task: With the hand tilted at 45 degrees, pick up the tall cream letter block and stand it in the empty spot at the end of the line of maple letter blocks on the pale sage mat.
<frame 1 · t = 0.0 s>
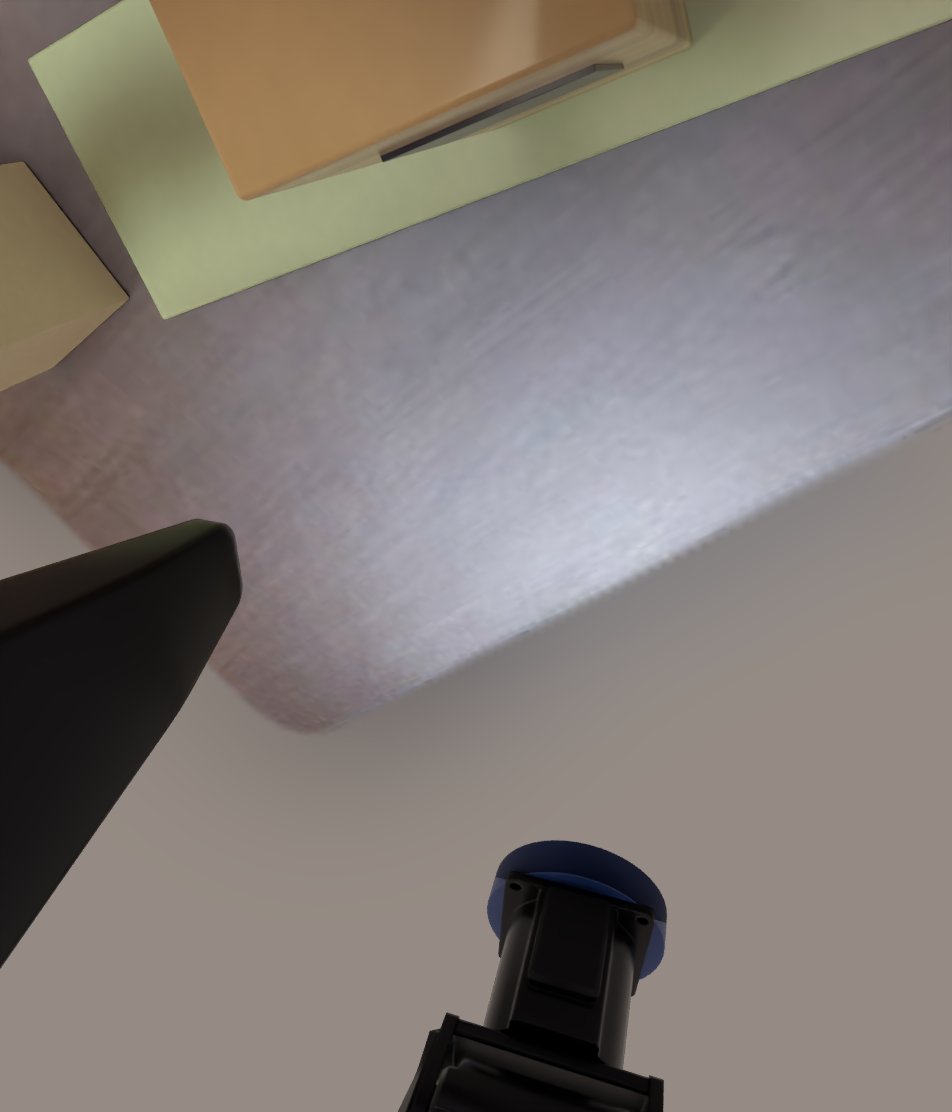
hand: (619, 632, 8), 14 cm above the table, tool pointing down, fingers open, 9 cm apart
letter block: (39, 272, 25), on the table
block line: (217, 145, 21), on the table
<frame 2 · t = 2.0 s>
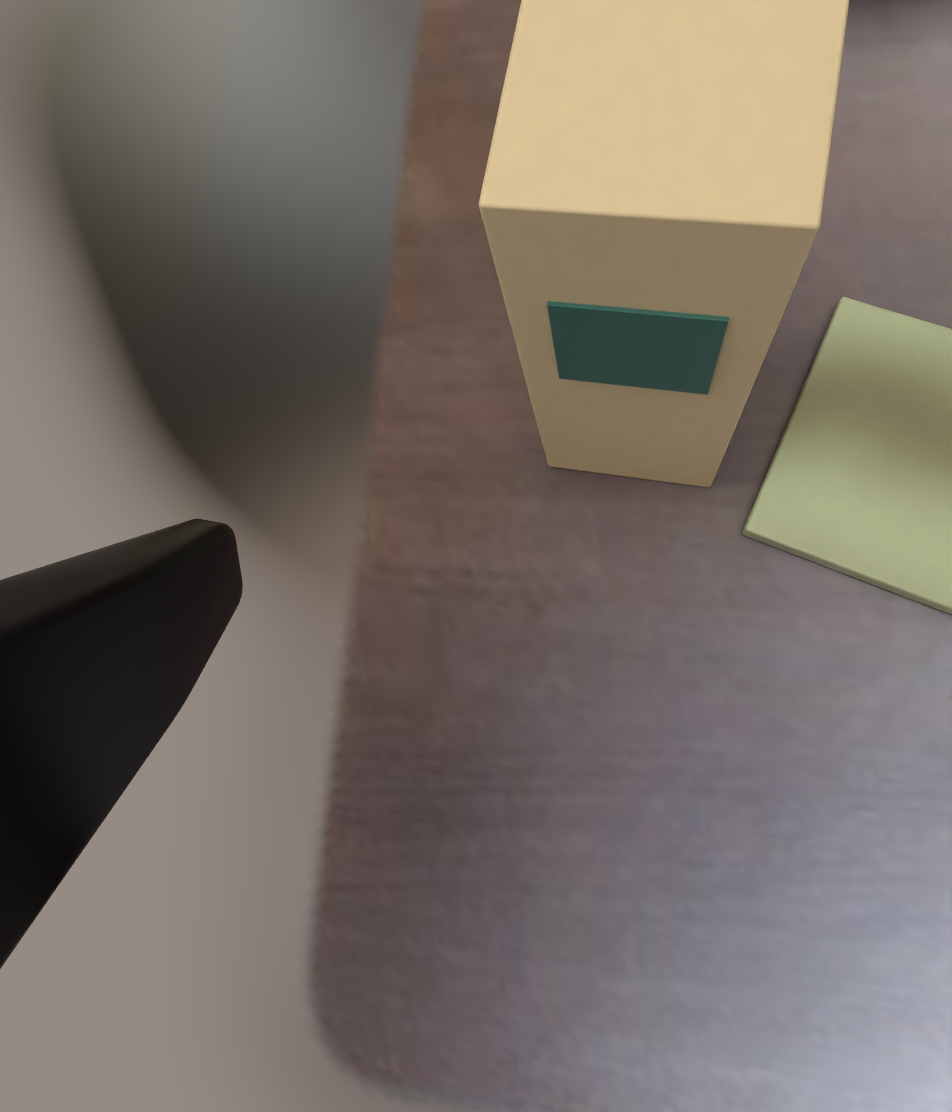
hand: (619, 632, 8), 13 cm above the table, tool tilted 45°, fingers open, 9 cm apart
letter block: (639, 401, 22), on the table
block line: (938, 469, 21), on the table
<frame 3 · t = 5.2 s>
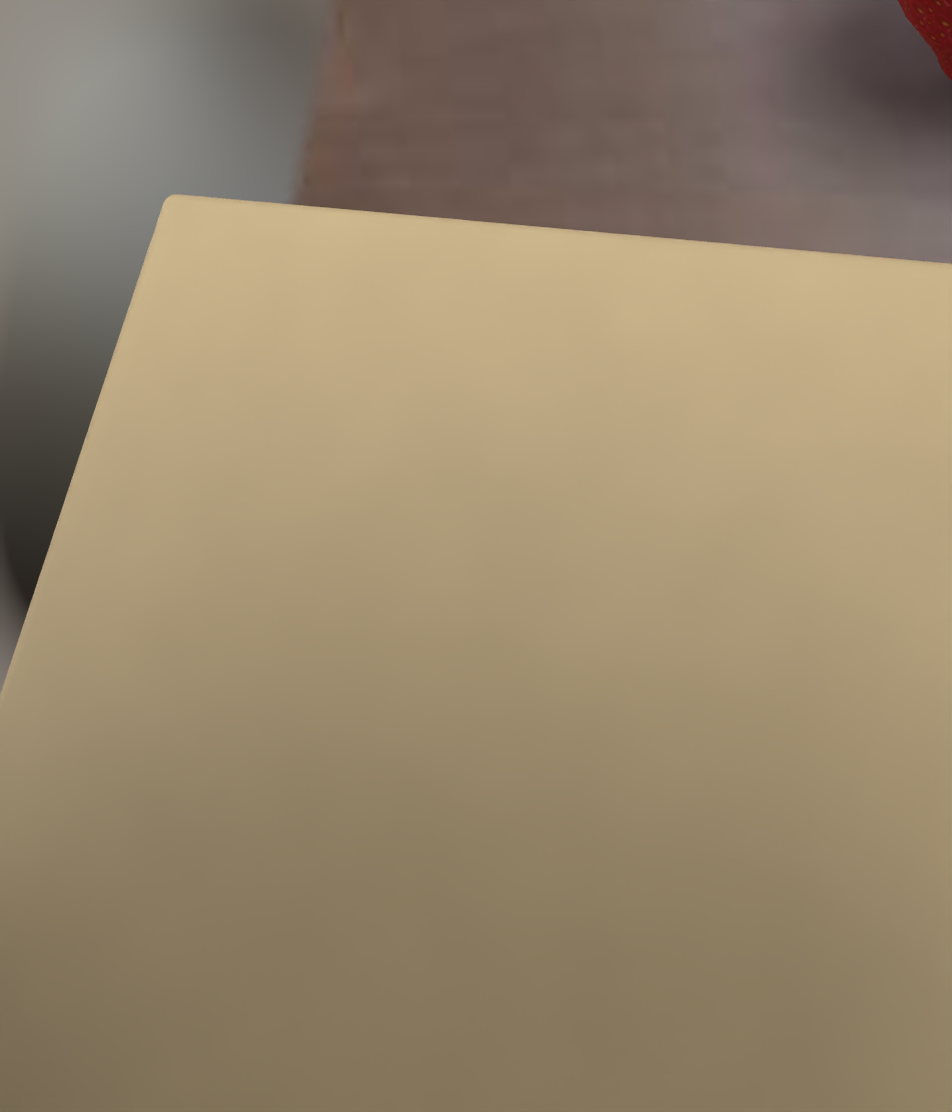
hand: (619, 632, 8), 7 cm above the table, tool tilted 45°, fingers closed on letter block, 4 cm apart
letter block: (600, 753, 14), on the table, touching gripper
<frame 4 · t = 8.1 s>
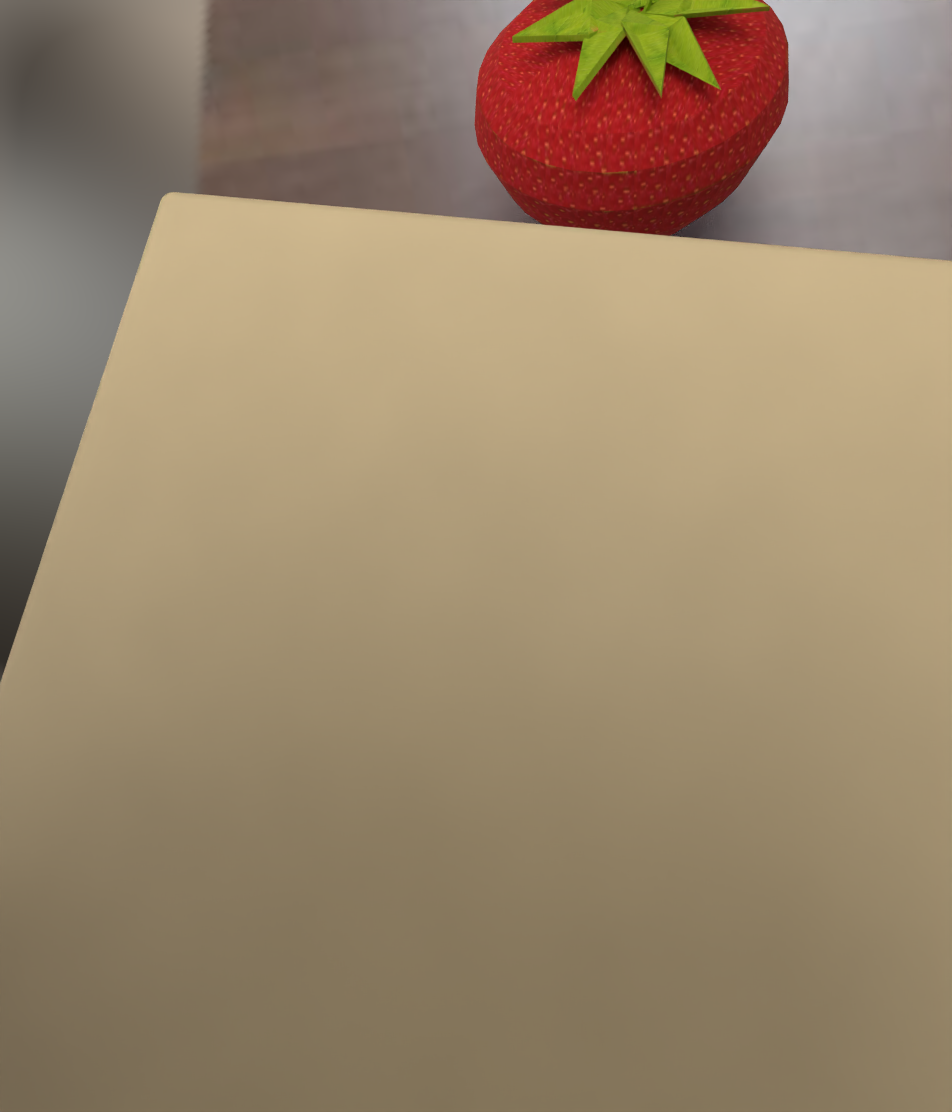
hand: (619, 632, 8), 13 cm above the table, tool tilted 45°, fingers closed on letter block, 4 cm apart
strawberry: (623, 241, 24), on the table
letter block: (600, 752, 14), point 7 cm above the table, touching gripper
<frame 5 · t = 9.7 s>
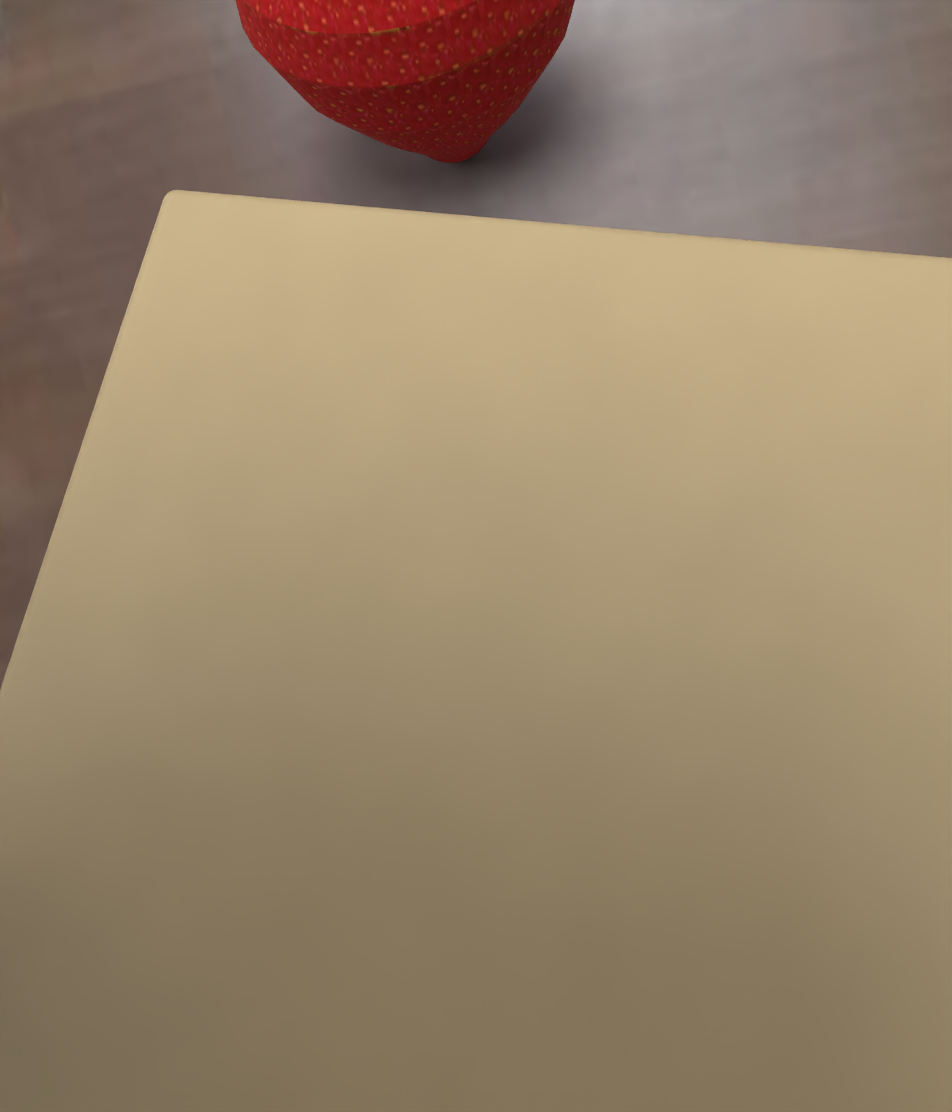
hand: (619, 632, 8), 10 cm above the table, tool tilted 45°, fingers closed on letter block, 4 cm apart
strawberry: (457, 153, 22), on the table
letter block: (601, 752, 14), point 3 cm above the table, touching gripper
when the fingers open (7 cm above the table, at t = 10.9 s): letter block stays where it is, resting on block line.
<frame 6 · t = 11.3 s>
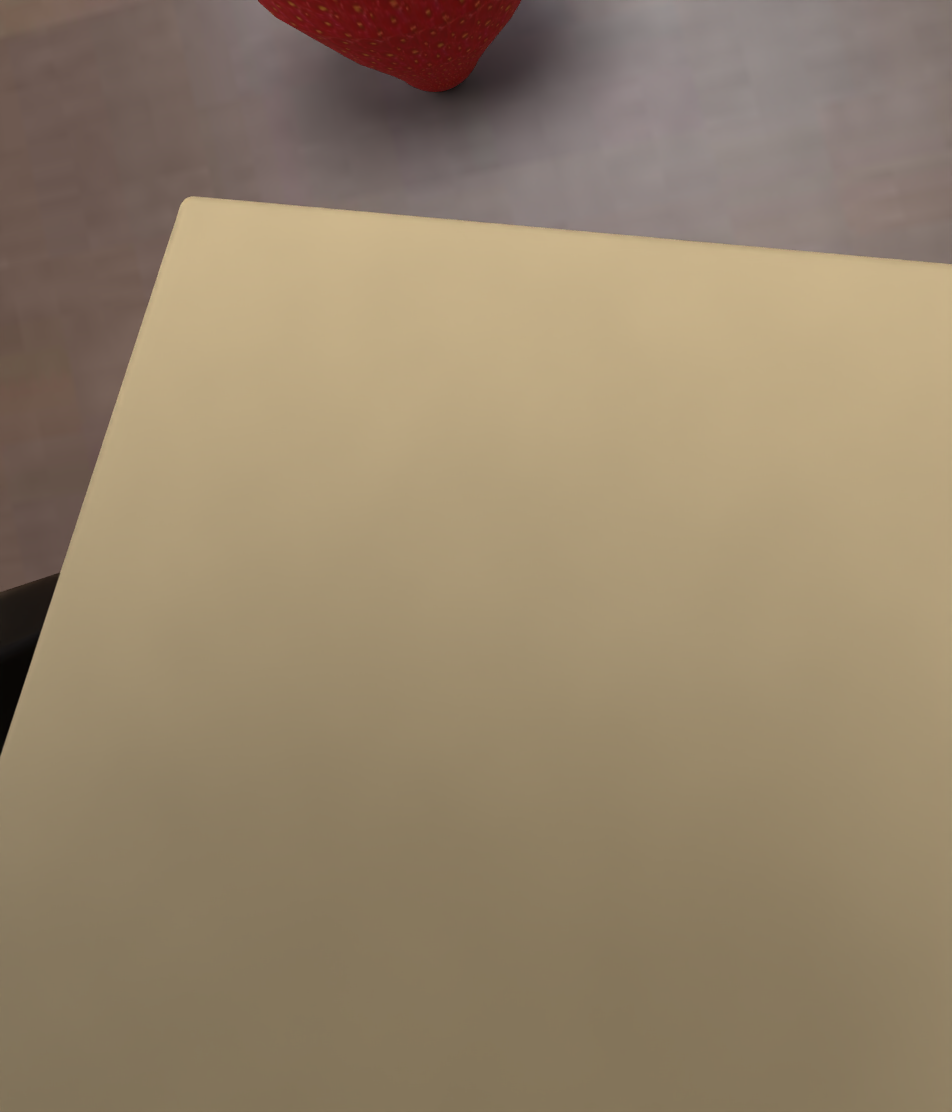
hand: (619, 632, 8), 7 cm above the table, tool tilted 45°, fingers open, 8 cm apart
strawberry: (443, 84, 19), on the table
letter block: (605, 754, 14), point 1 cm above the table, touching block line
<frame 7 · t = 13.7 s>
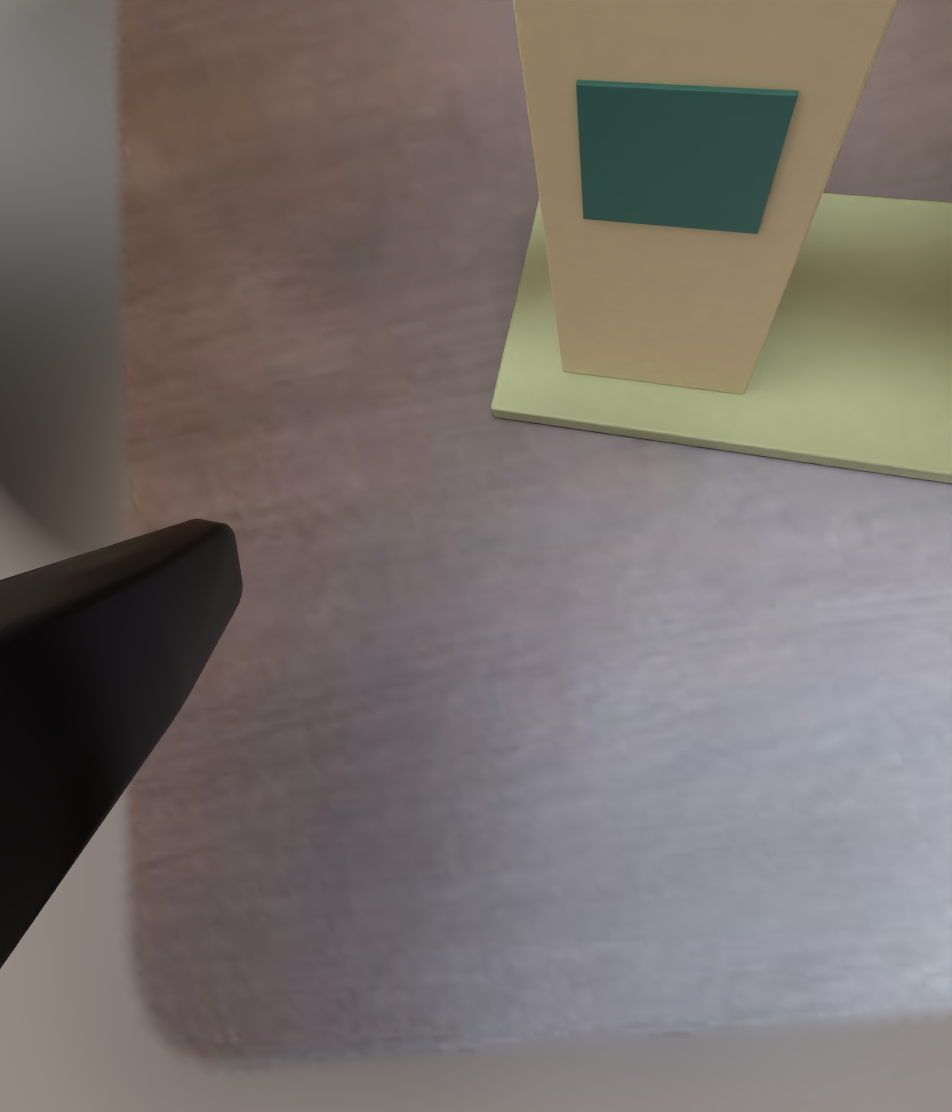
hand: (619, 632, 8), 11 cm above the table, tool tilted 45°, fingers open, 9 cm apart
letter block: (666, 302, 20), point 1 cm above the table, touching block line
block line: (666, 314, 21), on the table
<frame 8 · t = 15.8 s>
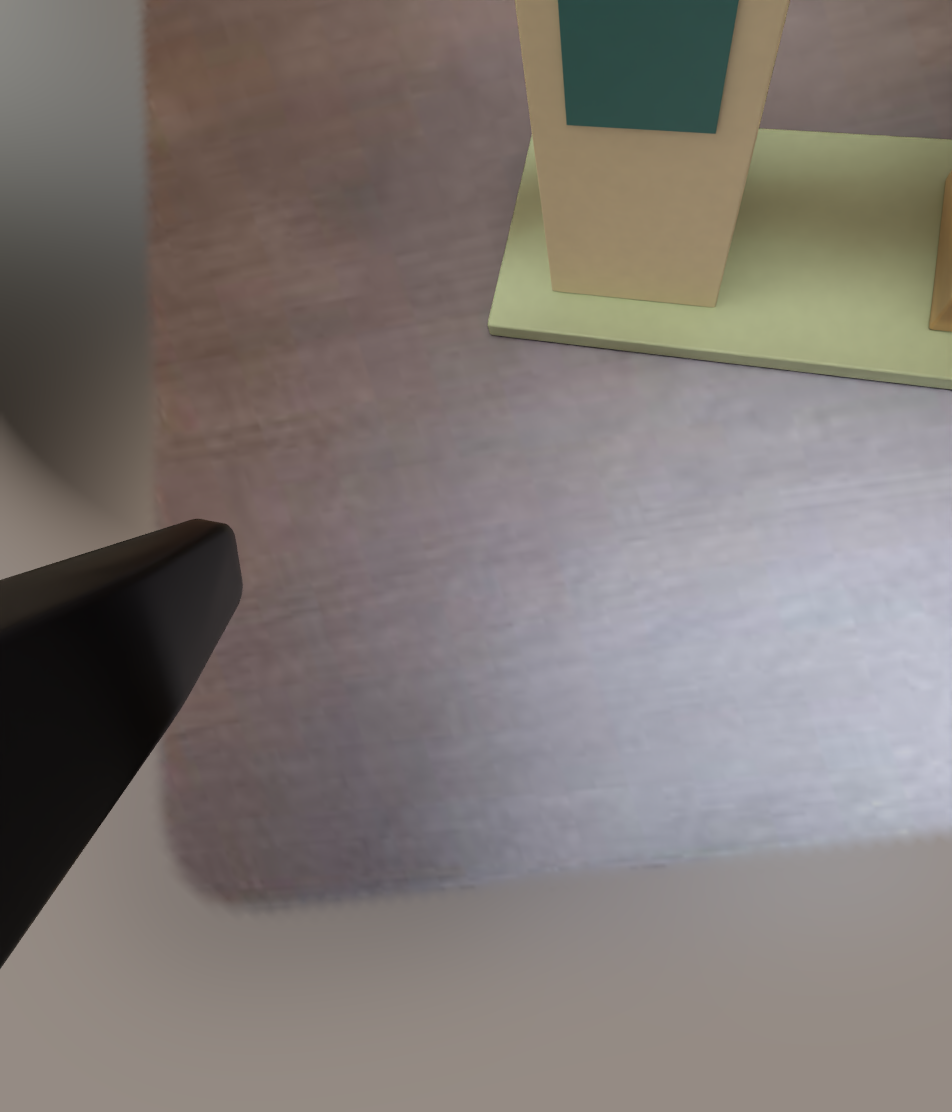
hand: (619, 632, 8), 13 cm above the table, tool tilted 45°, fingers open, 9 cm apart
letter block: (645, 228, 22), point 1 cm above the table, touching block line
block line: (645, 241, 23), on the table
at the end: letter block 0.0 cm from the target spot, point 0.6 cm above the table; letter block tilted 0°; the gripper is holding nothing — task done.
